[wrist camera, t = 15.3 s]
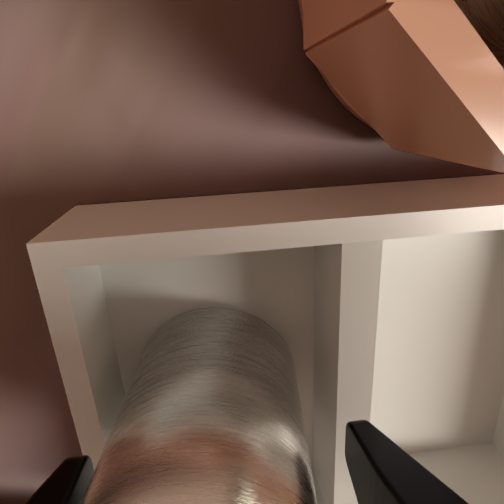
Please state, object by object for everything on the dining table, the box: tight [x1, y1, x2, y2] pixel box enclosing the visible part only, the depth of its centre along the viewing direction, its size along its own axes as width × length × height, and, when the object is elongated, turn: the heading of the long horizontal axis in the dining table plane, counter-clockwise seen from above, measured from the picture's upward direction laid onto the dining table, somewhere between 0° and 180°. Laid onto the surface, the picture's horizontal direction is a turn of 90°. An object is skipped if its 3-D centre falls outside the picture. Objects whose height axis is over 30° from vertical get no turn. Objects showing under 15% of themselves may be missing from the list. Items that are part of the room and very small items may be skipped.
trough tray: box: [26, 174, 504, 504], centre depth 10 cm, size 9×12×3 cm
